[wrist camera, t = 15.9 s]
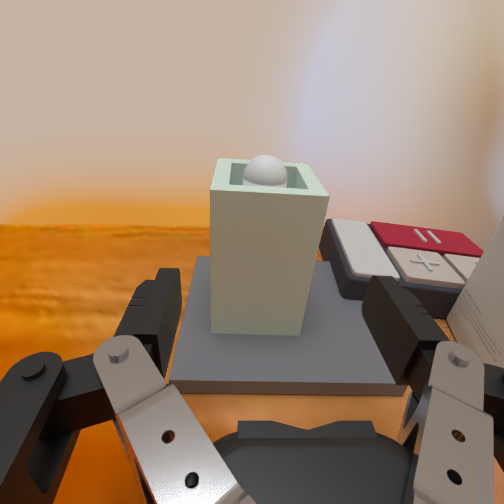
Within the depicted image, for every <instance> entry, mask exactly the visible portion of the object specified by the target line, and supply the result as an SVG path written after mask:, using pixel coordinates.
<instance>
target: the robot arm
mask: <svg viewBox="0 0 504 504" xmlns="http://www.w3.org/2000/svg"><path fill="white" fill-rule="evenodd" d="M181 306H182V295H181V282H180V271H179V268H160V269H159V271H158V273H157V275H156V278H155V280H145V281H144V282H143V283H142V284H140V285H139V286H138V287H137V288H136V290H135V292H134V294H133V296H132V299H131V301H130V303H129V305H128V307H127V309H126V311H125V313H124V316H123V318H122V320H121V322H120V324H119V326H118V328H117V330H116V333H115V335H114V337H113V338H110V339H108V340H106V341H105V342H103V343H102V344H101V345H100V346H99V347H98V348H97V349H96V351H95V353H93V354H90V355H87V356H84V357H79V358H75V359H71V360H67V361H63V362H62V359H61V357H60V356H59V355H58V354H56V353H53V352H40V353H36V354H32V355H30V356H27V357H25V358H24V359H22V360H20V361H19V362H17V363H16V364H15V365H13V366H12V367H11V368H10V369H9V371H8V372H7V373H6V375H5V376H4V378H3V379H2V381H1V382H0V504H53V502H54V499H55V496H56V494H57V491H58V489H59V486H60V483H61V481H62V478H63V475H64V473H65V470H66V467H67V465H68V462H69V459H70V457H71V454H72V452H73V449H74V446H75V444H76V441H77V438H78V436H79V433H80V430H81V429H83V428H86V427H90V426H93V425H96V424H99V423H102V422H106V421H109V420H112V421H113V423H114V426H115V428H116V430H117V433H118V435H119V438H120V440H121V442H122V445H123V447H124V450H125V452H126V454H127V457H128V459H129V462H130V464H131V466H132V469H133V472H134V474H135V477H136V480H137V483H138V485H139V488H140V490H141V493H142V495H143V498H144V500H145V502H146V504H494V457H495V458H496V460H497V462H498V463H499V465H500V467H501V468H502V470H503V472H504V368H502V367H498V366H494V365H490V364H486V363H483V362H482V360H481V359H480V357H479V356H478V355H477V354H476V353H474V352H473V351H472V350H471V349H469V348H467V347H466V346H464V345H462V344H459V343H456V342H452V341H450V340H449V339H448V337H447V336H446V335H445V334H444V332H443V331H442V330H441V328H440V327H439V326H438V325H437V323H436V322H435V321H434V319H433V318H432V317H431V316H430V315H429V313H428V312H427V310H426V309H425V308H424V307H423V305H422V304H421V303H420V301H419V300H418V299H417V297H416V296H415V295H413V294H412V293H411V292H409V291H408V290H406V289H405V288H401V286H400V285H399V284H398V282H397V281H396V279H395V278H394V277H393V276H380V275H373V276H372V277H371V279H370V281H369V284H368V287H367V290H366V293H365V296H364V299H363V302H362V316H363V318H364V321H365V323H366V325H367V327H368V329H369V331H370V333H371V335H372V337H373V339H374V341H375V343H376V345H377V347H378V349H379V351H380V353H381V355H382V357H383V359H384V361H385V363H386V365H387V367H388V369H389V371H390V373H391V375H392V377H393V379H394V381H395V383H396V385H410V387H411V389H412V391H411V393H410V395H409V398H408V401H407V405H406V409H405V412H404V416H403V420H402V424H401V427H400V431H399V434H398V438H397V440H396V441H395V440H393V439H391V438H389V437H387V436H384V435H382V434H379V433H376V432H375V429H374V427H373V424H372V421H337V422H334V423H330V424H327V425H323V426H320V427H317V428H313V429H310V430H305V429H301V428H297V427H293V426H290V425H286V424H282V423H278V422H274V421H238V430H237V432H234V433H231V434H228V435H226V436H224V437H222V438H220V439H219V440H217V441H215V442H214V443H213V444H212V442H211V441H210V439H209V438H208V436H207V434H206V433H205V431H204V430H203V428H202V427H201V425H200V424H199V422H198V421H197V419H196V417H195V416H194V414H193V413H192V411H191V410H190V408H189V407H188V405H187V403H186V402H185V400H184V399H183V397H182V396H181V394H180V393H179V391H178V390H177V388H176V387H175V386H174V385H173V384H172V383H169V384H167V383H166V382H165V375H166V371H167V367H168V363H169V359H170V355H171V351H172V346H173V342H174V338H175V334H176V330H177V326H178V322H179V317H180V313H181Z"/></svg>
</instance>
